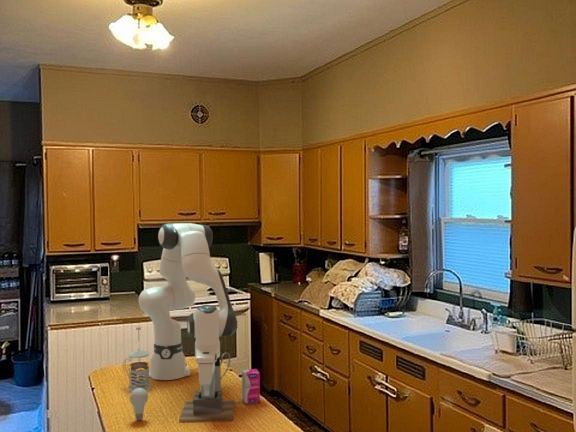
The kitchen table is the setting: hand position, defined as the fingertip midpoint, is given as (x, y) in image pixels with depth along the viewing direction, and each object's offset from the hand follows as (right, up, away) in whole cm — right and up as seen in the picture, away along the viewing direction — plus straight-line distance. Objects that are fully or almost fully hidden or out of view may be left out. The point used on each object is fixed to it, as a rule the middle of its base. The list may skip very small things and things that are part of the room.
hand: (207, 390), depth 207 cm
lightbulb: (-23, -8, -7) cm, 25 cm away
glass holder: (0, -7, +26) cm, 27 cm away
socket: (0, -8, 0) cm, 8 cm away
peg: (0, -7, 0) cm, 7 cm away
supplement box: (+15, -8, +11) cm, 20 cm away
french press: (-32, -8, +28) cm, 44 cm away
